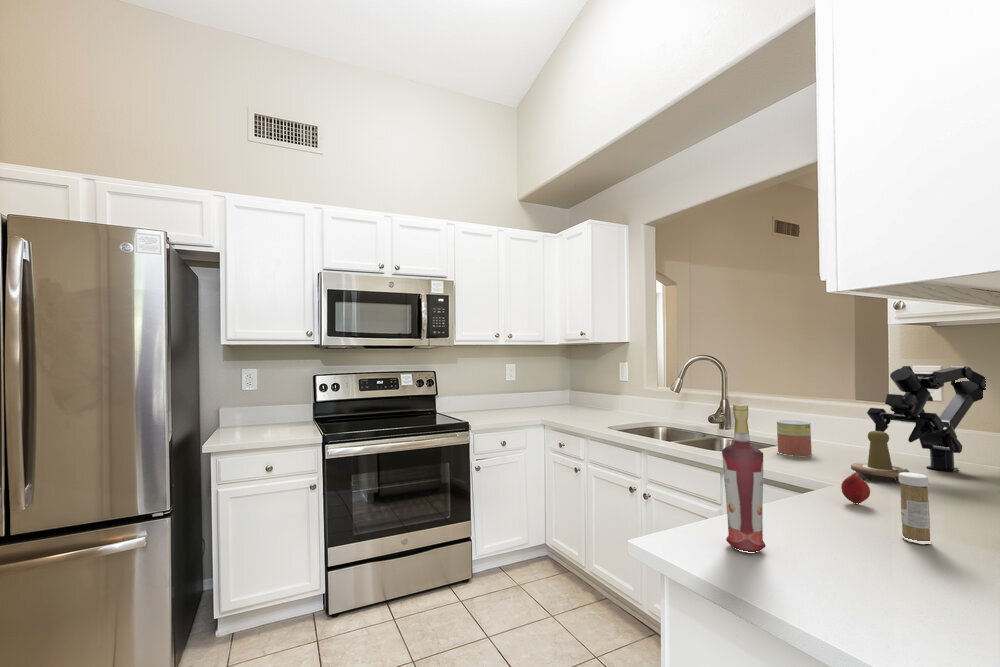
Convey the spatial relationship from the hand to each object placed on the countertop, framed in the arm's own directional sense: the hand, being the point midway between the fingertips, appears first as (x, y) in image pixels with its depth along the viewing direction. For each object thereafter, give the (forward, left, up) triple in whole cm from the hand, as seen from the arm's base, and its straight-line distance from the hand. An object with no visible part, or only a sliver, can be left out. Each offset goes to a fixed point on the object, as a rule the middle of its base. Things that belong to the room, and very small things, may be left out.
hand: (892, 439), depth 147 cm
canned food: (-11, -34, -12) cm, 38 cm away
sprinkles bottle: (+61, +23, -12) cm, 66 cm away
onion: (+43, +6, -12) cm, 45 cm away
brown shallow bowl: (+7, -1, -11) cm, 13 cm away
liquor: (+93, +6, -12) cm, 94 cm away
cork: (+7, -1, -8) cm, 11 cm away
